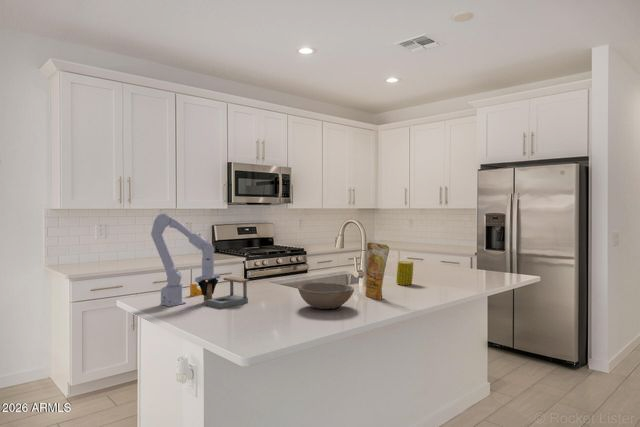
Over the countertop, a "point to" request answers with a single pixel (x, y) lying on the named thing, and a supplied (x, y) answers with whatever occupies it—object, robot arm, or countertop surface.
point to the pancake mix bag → (375, 269)
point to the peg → (208, 292)
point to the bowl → (325, 294)
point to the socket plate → (230, 299)
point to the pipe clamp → (195, 290)
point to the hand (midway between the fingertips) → (207, 294)
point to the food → (404, 273)
